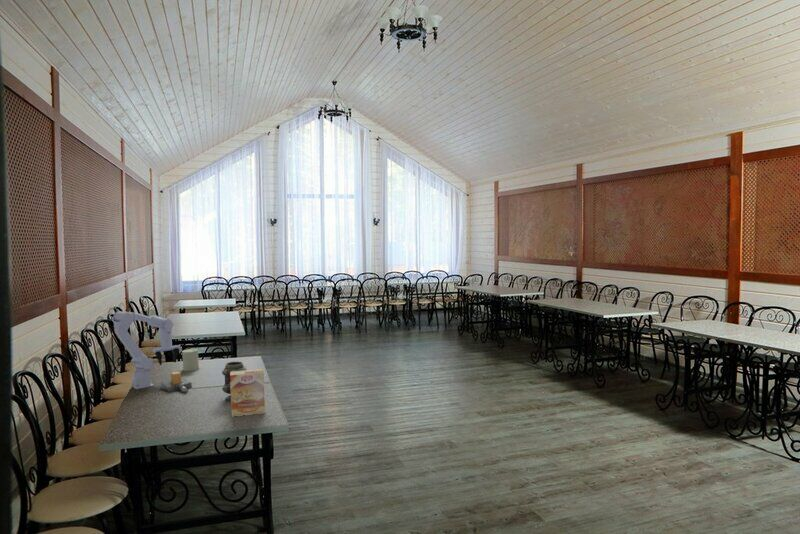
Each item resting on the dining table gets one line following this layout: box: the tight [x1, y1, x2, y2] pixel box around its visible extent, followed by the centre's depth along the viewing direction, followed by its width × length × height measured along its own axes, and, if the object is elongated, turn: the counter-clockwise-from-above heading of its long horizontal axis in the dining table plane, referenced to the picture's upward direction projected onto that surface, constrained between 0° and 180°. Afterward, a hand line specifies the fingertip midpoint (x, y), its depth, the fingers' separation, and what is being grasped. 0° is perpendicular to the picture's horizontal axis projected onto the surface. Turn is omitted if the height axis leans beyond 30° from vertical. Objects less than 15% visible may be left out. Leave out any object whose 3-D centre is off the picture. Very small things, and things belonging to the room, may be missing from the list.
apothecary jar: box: [221, 360, 248, 402], centre depth 277 cm, size 12×12×18 cm
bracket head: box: [160, 378, 193, 394], centre depth 296 cm, size 12×20×2 cm, turn 41°
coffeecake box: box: [230, 368, 266, 418], centre depth 255 cm, size 15×7×20 cm, turn 106°
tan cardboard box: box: [170, 371, 182, 385], centre depth 299 cm, size 4×4×8 cm
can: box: [181, 348, 200, 372], centre depth 336 cm, size 9×9×12 cm
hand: (167, 363), depth 314 cm, fingers open, 7 cm apart
